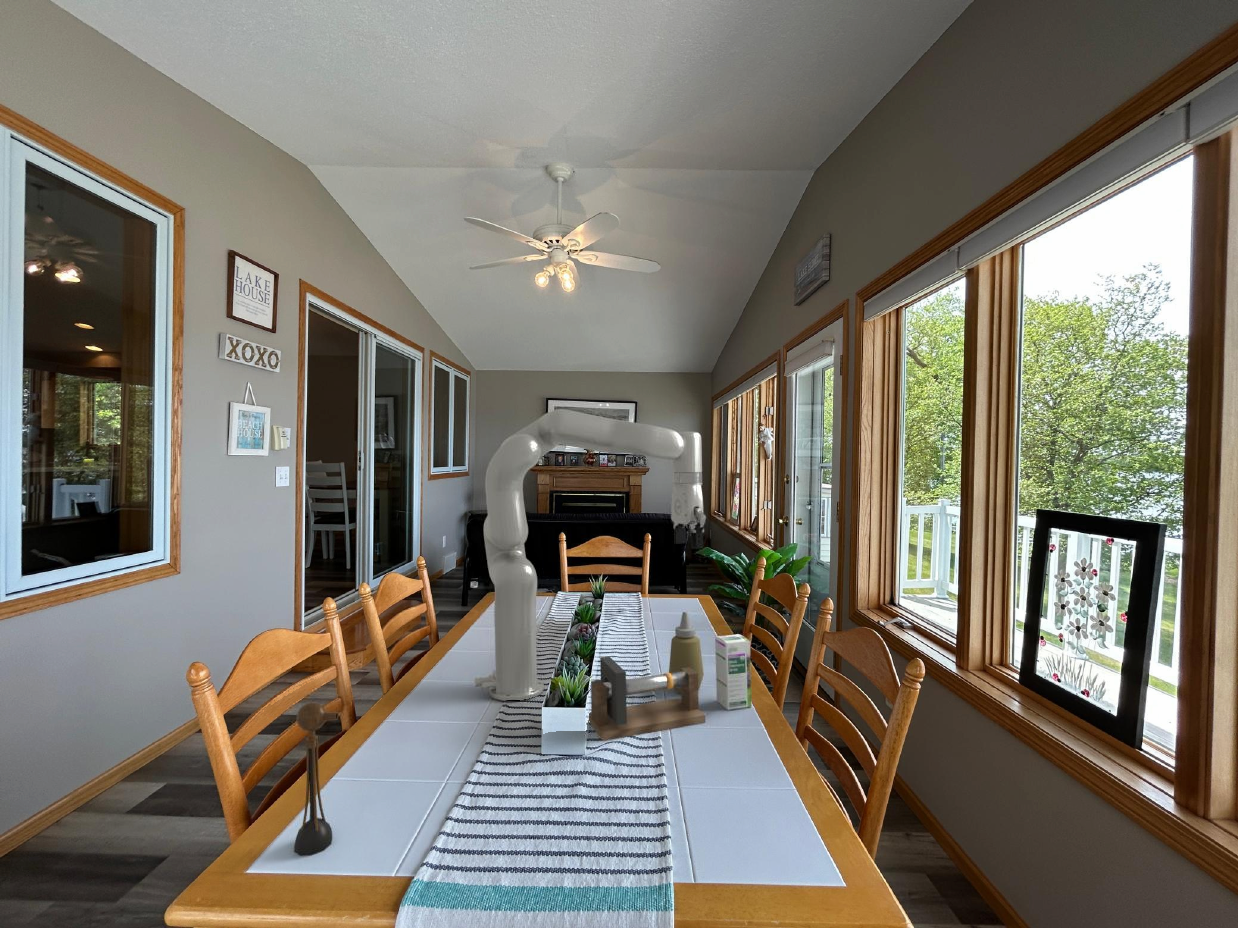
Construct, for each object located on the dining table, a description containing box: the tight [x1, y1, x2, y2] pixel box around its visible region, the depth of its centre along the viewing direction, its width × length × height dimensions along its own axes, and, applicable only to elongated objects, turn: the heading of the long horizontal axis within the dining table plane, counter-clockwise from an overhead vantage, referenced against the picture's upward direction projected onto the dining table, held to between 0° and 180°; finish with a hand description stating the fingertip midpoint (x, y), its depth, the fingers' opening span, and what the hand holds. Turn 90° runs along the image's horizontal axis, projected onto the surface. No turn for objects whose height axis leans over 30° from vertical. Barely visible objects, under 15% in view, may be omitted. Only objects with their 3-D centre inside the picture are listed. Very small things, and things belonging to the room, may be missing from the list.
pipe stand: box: [588, 667, 706, 742], centre depth 122 cm, size 22×10×9 cm, turn 110°
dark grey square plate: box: [599, 656, 627, 725], centre depth 120 cm, size 2×10×10 cm, turn 19°
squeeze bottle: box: [668, 611, 705, 694], centre depth 139 cm, size 8×8×18 cm
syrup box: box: [714, 633, 752, 711], centre depth 130 cm, size 6×6×14 cm
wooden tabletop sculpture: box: [293, 701, 339, 857], centre depth 84 cm, size 6×5×20 cm
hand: (688, 545), depth 154 cm, fingers open, 9 cm apart
